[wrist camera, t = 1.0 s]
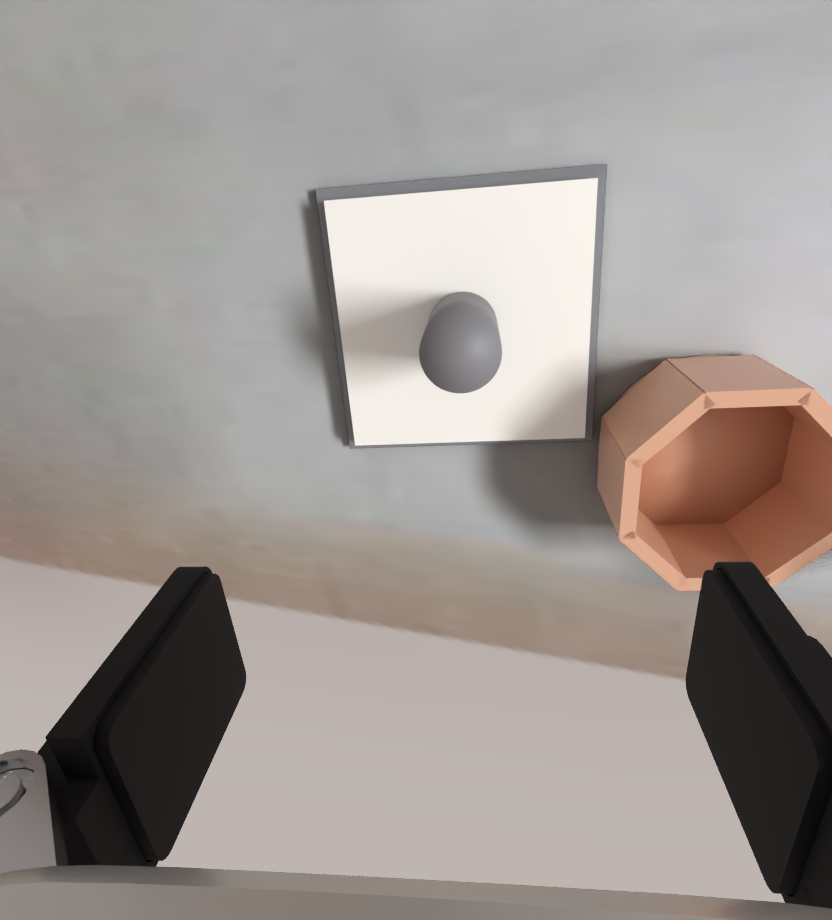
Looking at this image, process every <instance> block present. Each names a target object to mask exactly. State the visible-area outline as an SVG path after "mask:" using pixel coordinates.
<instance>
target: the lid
mask: <svg viewBox="0 0 832 920" xmlns="http://www.w3.org/2000/svg"><path fill="white" fill-rule="evenodd" d="M597 187H598V178H590V179H578V180H566V181H554V182H542V183H530V184H518V185H506V186H494V187H482V188H470V189H458V190H446V191H434V192H422V193H410V194H398V195H386V196H374V197H362V198H351V199H339V200H327V201H324V208H325V215H326V223H327V231H328V239H329V246H330V254H331V262H332V270H333V278H334V285H335V293H336V301H337V309H338V316H339V324H340V332H341V340H342V348H343V355H344V363H345V371H346V379H347V386H348V394H349V402H350V410H351V418H352V425H353V433H354V441H355V446H359V445H389V444H420V443H450V442H480V441H511V440H541V439H571V438H585V425H586V405H587V385H588V366H589V346H590V326H591V306H592V286H593V266H594V247H595V227H596V207H597Z"/></svg>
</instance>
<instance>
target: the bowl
mask: <svg viewBox="0 0 832 920" xmlns="http://www.w3.org/2000/svg"><path fill="white" fill-rule="evenodd" d="M597 451H598V477H597V488H598V491H599V493H600V495H601V498H602V500H603V502H604V505H605V507H606V510H607V512H608V514H609V517H610V519H611V521H612V524H613V526H614V529H615V531H616V533H617V536H618V538H619V540H620V541H621V542H622V543H623V544H624V545H625V546H627V547H628V548H629V549H630V550H631V551H632V552H634V553H635V554H636V555H637V556H638V557H639V558H640V559H642V560H643V561H644V562H645V563H646V564H647V565H648V566H650V567H651V568H652V569H653V570H654V571H655V572H656V573H658V574H659V575H660V576H661V577H662V578H663V579H665V580H666V581H667V582H668V583H669V584H670V585H671V586H673V587H674V588H675V589H676V590H678V591H700V590H701V584H702V578H703V574H704V572H705V571H706V570H713V567H714V565H715V563H717V562H743V561H749V562H752V563H754V564H755V565H756V567H757V568H758V569H759V571H760V572H761V573H762V575H763V576H764V577H765V579H766V580H767V582H768V583H769V584H770V586H771V587H772V588H773V587H774V586H776V585H777V584H779V583H781V582H782V581H784V580H785V579H787V578H788V577H790V576H791V575H793V574H794V573H796V572H797V571H799V570H800V569H802V568H803V567H805V566H806V565H808V564H809V563H811V562H812V561H814V560H815V559H817V558H818V557H820V556H821V555H823V554H825V553H826V552H828V551H829V550H831V549H832V407H831V406H830V405H829V404H828V403H827V402H826V401H825V400H824V399H823V398H822V397H821V396H820V395H819V394H818V392H817V391H816V390H815V389H814V388H812V387H810V386H809V385H807V384H805V383H803V382H802V381H800V380H798V379H796V378H795V377H793V376H791V375H789V374H787V373H786V372H784V371H782V370H780V369H779V368H777V367H775V366H773V365H772V364H770V363H768V362H766V361H765V360H763V359H761V358H759V357H758V356H756V355H736V356H725V355H699V356H691V357H687V358H673V359H667V360H664V361H663V362H662V363H661V364H659V365H658V366H657V367H656V368H655V369H654V370H652V371H651V372H649V373H648V374H646V375H645V376H643V377H641V378H640V379H639V380H638V381H636V382H635V383H634V384H633V385H631V386H630V387H629V388H628V389H627V390H626V391H625V392H624V393H623V394H622V395H621V397H620V398H619V399H618V400H617V402H616V403H615V404H614V406H613V407H612V408H610V409H609V410H608V411H607V412H606V413H605V414H604V415H603V416H602V417H601V429H600V437H599V442H598V450H597Z"/></svg>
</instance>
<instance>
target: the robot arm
mask: <svg viewBox="0 0 832 920" xmlns="http://www.w3.org/2000/svg"><path fill="white" fill-rule="evenodd" d="M245 684H246V671H245V667H244V664H243V660H242V657H241V653H240V650H239V646H238V642H237V638H236V635H235V631H234V627H233V625H232V620H231V617H230V613H229V609H228V606H227V602H226V598H225V595H224V591H223V587H222V584H221V580H220V578H219V576H218V575H217V574H212V572H211V570H210V569H209V568H208V567H179V568H177V569H176V570H175V571H174V572H173V573H172V574H171V576H170V577H169V578H168V580H167V581H166V582H165V583H164V585H163V586H162V587H161V589H160V590H159V591H158V593H157V594H156V595H155V597H154V598H153V599H152V600H151V602H150V603H149V605H147V607H146V608H145V609H144V611H143V612H142V613H141V614H140V616H139V617H138V619H137V620H136V621H135V622H134V624H133V625H132V626H131V628H130V629H129V630H128V631H127V633H126V634H125V635H124V636H123V638H122V639H121V640H120V642H119V643H118V644H117V646H116V647H115V648H114V649H113V651H112V652H111V653H110V655H109V656H108V657H107V658H106V660H105V661H104V662H103V664H102V665H101V666H100V667H99V669H98V670H97V671H96V673H95V674H94V675H93V677H92V678H91V679H90V681H89V682H88V683H87V684H86V686H85V687H84V688H83V689H82V691H81V692H80V693H79V695H78V696H77V697H76V698H75V700H74V701H73V703H72V704H71V705H70V706H69V708H68V709H67V710H66V711H65V713H64V714H63V715H62V717H61V718H60V719H59V721H58V722H57V723H56V724H55V726H54V727H53V728H52V729H51V731H50V732H49V733H48V735H47V736H46V739H47V741H46V742H45V743H44V745H43V746H42V747H41V749H40V750H39V751H38V753H36V752H34V751H29V750H16V751H10V752H6V753H3V754H0V920H832V657H831V656H830V655H829V654H828V652H827V651H826V650H825V648H824V647H823V646H822V645H821V644H820V643H819V642H818V640H817V639H815V638H813V637H811V636H807V635H806V633H805V632H804V630H803V629H802V628H801V626H800V625H799V624H798V622H797V621H796V620H795V618H794V617H793V615H792V614H791V613H790V611H789V610H788V609H787V607H786V606H785V605H784V603H783V602H782V601H781V599H780V598H779V596H778V595H777V594H776V592H775V591H774V590H773V588H772V587H771V586H770V584H769V583H768V582H767V580H766V579H765V577H764V576H763V575H762V573H761V572H760V571H759V569H758V568H757V567H756V565H755V564H754V563H752V562H749V561H743V562H717V563H715V565H714V567H713V570H706V571H705V572H704V574H703V578H702V584H701V590H700V596H699V602H698V608H697V614H696V620H695V626H694V632H693V638H692V644H691V650H690V656H689V662H688V667H687V673H686V689H687V693H688V697H689V700H690V702H691V705H692V707H693V709H694V712H695V714H696V717H697V719H698V721H699V724H700V726H701V729H702V731H703V733H704V736H705V738H706V740H707V743H708V745H709V748H710V750H711V752H712V755H713V757H714V760H715V762H716V765H717V767H718V769H719V772H720V774H721V776H722V779H723V781H724V784H725V786H726V789H727V791H728V793H729V795H730V798H731V801H732V803H733V805H734V808H735V810H736V812H737V815H738V817H739V820H740V822H741V825H742V827H743V829H744V831H745V834H746V837H747V839H748V841H749V844H750V846H751V849H752V851H753V853H754V856H755V858H756V861H757V863H758V865H759V868H760V870H761V873H762V875H763V877H764V880H765V881H766V884H767V886H768V887H769V889H770V890H771V891H772V892H773V893H780V894H782V896H783V899H784V901H785V903H779V902H767V901H754V900H740V899H728V898H716V897H703V896H689V895H677V894H661V893H644V892H628V891H610V890H594V889H578V888H577V889H576V888H560V887H544V886H528V885H527V886H526V885H511V884H493V883H492V884H491V883H475V882H456V881H438V880H437V881H436V880H419V879H402V878H382V877H364V876H345V875H327V874H305V873H284V872H264V871H244V870H223V869H203V868H179V867H156V865H157V863H158V861H162V860H164V859H166V857H167V856H168V855H169V853H170V851H171V850H172V848H173V845H174V843H175V841H176V839H177V836H178V834H179V832H180V830H181V828H182V825H183V823H184V821H185V819H186V817H187V814H188V812H189V810H190V808H191V806H192V803H193V801H194V799H195V797H196V794H197V792H198V790H199V788H200V786H201V784H202V781H203V779H204V777H205V775H206V773H207V770H208V768H209V766H210V764H211V762H212V759H213V757H214V755H215V753H216V750H217V748H218V746H219V744H220V742H221V740H222V737H223V735H224V733H225V731H226V729H227V726H228V724H229V722H230V720H231V718H232V715H233V713H234V711H235V709H236V707H237V704H238V702H239V700H240V698H241V695H242V693H243V691H244V688H245Z"/></svg>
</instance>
